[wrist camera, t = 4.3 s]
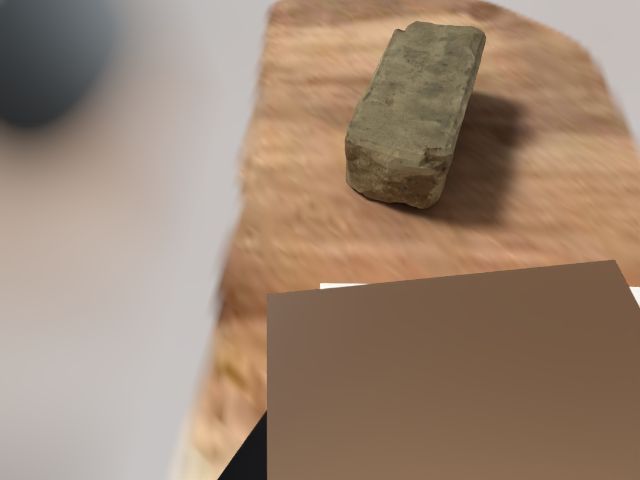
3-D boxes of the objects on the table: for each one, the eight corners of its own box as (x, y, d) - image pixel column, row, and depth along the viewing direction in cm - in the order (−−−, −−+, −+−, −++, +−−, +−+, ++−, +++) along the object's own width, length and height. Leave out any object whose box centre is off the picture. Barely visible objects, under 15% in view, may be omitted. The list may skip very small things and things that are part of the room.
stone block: (466, 91, 24) (493, 21, 20) (432, 222, 20) (456, 168, 15) (389, 78, 25) (397, 9, 21) (340, 197, 21) (337, 141, 16)
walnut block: (447, 484, 12) (949, 891, 2) (336, 493, 12) (267, 907, 2) (423, 365, 14) (614, 259, 4) (326, 374, 14) (266, 294, 4)
